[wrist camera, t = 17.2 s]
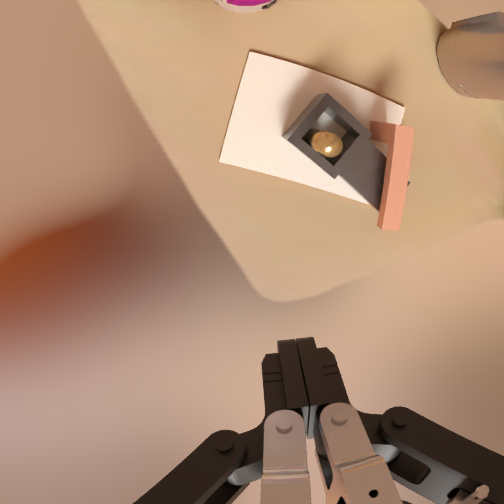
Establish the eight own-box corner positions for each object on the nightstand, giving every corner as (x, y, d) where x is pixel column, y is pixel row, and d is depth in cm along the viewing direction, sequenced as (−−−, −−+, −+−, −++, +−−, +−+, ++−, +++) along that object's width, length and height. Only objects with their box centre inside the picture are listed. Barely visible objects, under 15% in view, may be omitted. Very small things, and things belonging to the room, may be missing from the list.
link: (281, 136, 30) (287, 140, 27) (316, 94, 28) (326, 92, 25) (365, 208, 34) (378, 220, 30) (397, 170, 32) (413, 178, 28)
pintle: (304, 125, 30) (322, 129, 23) (322, 131, 30) (345, 137, 23) (298, 143, 31) (315, 152, 24) (316, 148, 31) (338, 160, 24)
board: (249, 52, 27) (249, 51, 26) (403, 108, 29) (405, 108, 29) (219, 161, 32) (219, 161, 31) (371, 204, 34) (372, 205, 34)
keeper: (368, 120, 30) (395, 124, 24) (385, 123, 30) (414, 127, 24) (359, 208, 34) (381, 229, 28) (374, 209, 34) (399, 230, 28)
